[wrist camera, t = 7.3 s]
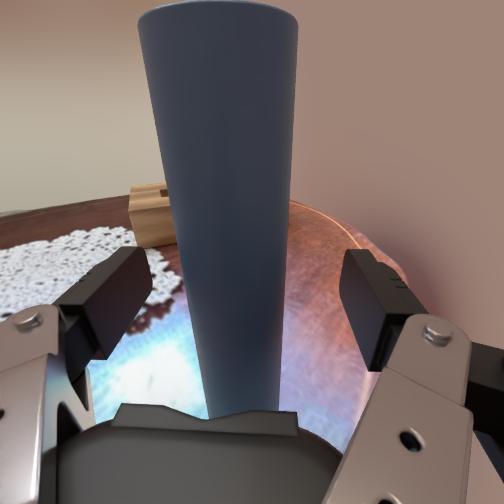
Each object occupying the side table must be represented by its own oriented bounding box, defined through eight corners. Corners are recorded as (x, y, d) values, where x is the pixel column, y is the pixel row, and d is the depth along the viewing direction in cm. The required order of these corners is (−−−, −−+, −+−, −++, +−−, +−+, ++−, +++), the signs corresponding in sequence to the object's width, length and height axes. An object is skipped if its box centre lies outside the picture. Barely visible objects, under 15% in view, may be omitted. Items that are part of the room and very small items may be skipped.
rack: (138, 217, 41) (130, 186, 38) (254, 201, 47) (254, 173, 45) (138, 249, 31) (128, 210, 29) (285, 223, 37) (286, 189, 35)
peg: (261, 396, 15) (260, 48, 7) (288, 457, 12) (332, 10, 4) (207, 418, 14) (136, 40, 6) (223, 489, 11) (135, -15, 3)
